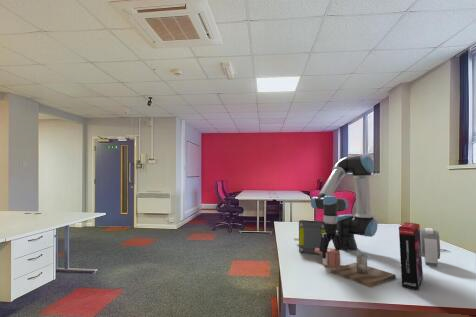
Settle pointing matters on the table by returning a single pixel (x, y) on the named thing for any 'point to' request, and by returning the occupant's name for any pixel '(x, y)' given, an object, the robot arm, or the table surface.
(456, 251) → the table surface
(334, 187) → the robot arm
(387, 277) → the base
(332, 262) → the cap
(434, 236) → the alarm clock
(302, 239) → the electrical component
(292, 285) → the table surface
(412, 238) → the graphics card box
